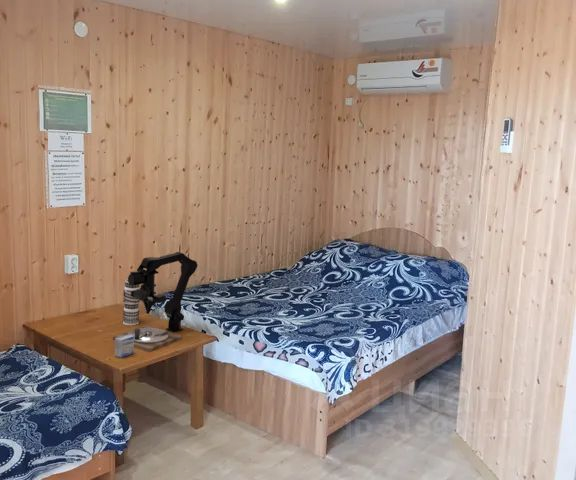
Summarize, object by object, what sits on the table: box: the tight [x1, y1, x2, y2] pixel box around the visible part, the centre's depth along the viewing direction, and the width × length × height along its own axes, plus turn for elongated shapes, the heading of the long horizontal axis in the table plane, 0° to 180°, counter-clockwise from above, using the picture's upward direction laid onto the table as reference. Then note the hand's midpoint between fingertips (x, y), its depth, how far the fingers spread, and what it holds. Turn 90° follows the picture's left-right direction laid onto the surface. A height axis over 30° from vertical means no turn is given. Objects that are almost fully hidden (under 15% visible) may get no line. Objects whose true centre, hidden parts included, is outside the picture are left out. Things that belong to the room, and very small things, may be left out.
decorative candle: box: [122, 277, 141, 326], centre depth 309 cm, size 9×9×25 cm
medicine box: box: [114, 335, 135, 359], centre depth 267 cm, size 8×4×9 cm, turn 148°
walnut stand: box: [112, 325, 183, 353], centre depth 289 cm, size 24×24×2 cm
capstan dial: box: [128, 327, 168, 343], centre depth 289 cm, size 20×20×6 cm
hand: (148, 312), depth 293 cm, fingers closed
